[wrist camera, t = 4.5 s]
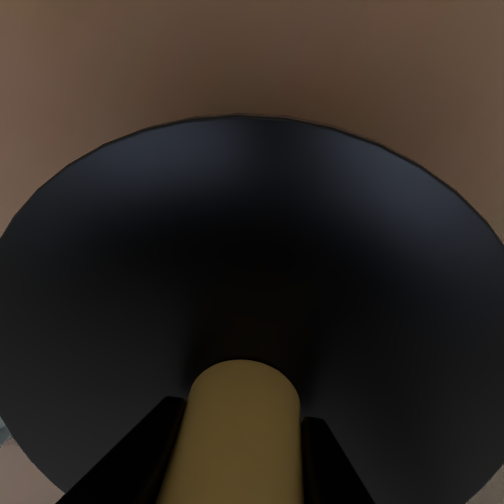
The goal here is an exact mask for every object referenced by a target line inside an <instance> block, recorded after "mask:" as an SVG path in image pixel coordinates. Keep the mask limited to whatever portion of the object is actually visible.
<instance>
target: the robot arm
mask: <svg viewBox="0 0 504 504" xmlns="http://www.w3.org/2000/svg"><path fill="white" fill-rule="evenodd" d="M185 407H186V400H185V399H184V398H180V397H173V396H166V397H165V398H164V399H162V400H161V401H160V402H159V403H158V404H157V405H156V406H155V407H154V408H153V409H152V410H151V411H150V412H149V413H148V414H147V415H146V416H145V417H144V418H143V419H142V420H141V421H140V422H139V423H138V424H137V425H136V426H135V427H134V428H133V429H132V430H131V431H130V432H129V433H128V434H126V435H125V436H124V437H123V438H122V439H121V440H120V441H119V442H118V443H117V444H116V445H115V446H114V447H113V448H112V449H111V450H110V451H109V452H108V453H107V454H106V455H105V456H104V457H103V458H102V459H101V460H100V461H99V462H98V463H97V464H96V465H95V466H94V467H93V468H91V469H90V470H89V471H88V472H87V473H86V474H85V475H84V476H83V477H82V478H81V479H80V480H79V481H78V482H77V483H76V484H75V485H74V486H73V487H72V488H71V489H70V490H69V491H68V492H67V493H66V494H65V495H64V496H63V497H62V498H61V499H60V500H59V501H58V502H56V503H55V504H155V503H156V500H157V497H158V493H159V490H160V487H161V484H162V481H163V478H164V474H165V471H166V468H167V465H168V462H169V459H170V455H171V452H172V449H173V446H174V442H175V439H176V436H177V433H178V429H179V426H180V423H181V420H182V416H183V413H184V410H185ZM301 435H302V456H303V477H304V498H305V504H375V502H374V500H373V499H372V497H371V495H370V494H369V492H368V490H367V489H366V487H365V486H364V484H363V482H362V481H361V479H360V477H359V476H358V474H357V472H356V471H355V469H354V467H353V466H352V464H351V463H350V461H349V459H348V458H347V456H346V454H345V453H344V451H343V449H342V448H341V446H340V444H339V443H338V441H337V440H336V438H335V436H334V435H333V433H332V431H331V430H330V428H329V426H328V425H327V423H326V422H325V420H323V419H322V418H316V417H309V416H306V417H304V418H303V420H302V424H301Z"/></svg>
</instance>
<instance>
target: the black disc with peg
mask: <svg viewBox="0 0 504 504" xmlns="http://www.w3.org/2000/svg"><path fill="white" fill-rule="evenodd" d="M166 396H173V397H180V398H184V399H185V400H186V407H185V410H184V413H183V416H182V420H181V423H180V426H179V429H178V433H177V436H176V439H175V442H174V446H173V449H172V452H171V455H170V459H169V462H168V465H167V468H166V471H165V474H164V478H163V481H162V484H161V487H160V490H159V493H158V497H157V500H156V503H155V504H305V498H304V477H303V456H302V435H301V424H302V420H303V418H304V417H306V416H309V417H316V418H322V419H323V420H325V422H326V423H327V425H328V426H329V428H330V430H331V431H332V433H333V435H334V436H335V438H336V440H337V441H338V443H339V444H340V446H341V448H342V449H343V451H344V453H345V454H346V456H347V458H348V459H349V461H350V463H351V464H352V466H353V467H354V469H355V471H356V472H357V474H358V476H359V477H360V479H361V481H362V482H363V484H364V486H365V487H366V489H367V490H368V492H369V494H370V495H371V497H372V499H373V500H374V502H375V504H465V503H466V502H467V501H469V500H470V499H471V498H472V497H473V496H474V495H475V494H477V493H478V492H479V491H480V490H481V489H482V488H483V487H484V486H485V485H486V484H487V482H488V481H489V480H490V479H491V478H492V477H493V476H494V474H495V473H496V472H497V471H498V470H499V469H500V468H501V466H502V465H503V463H504V244H503V243H502V242H501V240H500V239H499V237H498V236H497V235H496V233H495V232H494V230H493V229H492V228H491V226H490V225H489V224H488V222H487V221H486V220H485V219H484V218H483V217H482V216H481V215H480V214H479V213H478V212H477V211H476V210H475V209H474V208H473V207H472V206H471V205H470V204H469V203H468V202H467V201H466V200H465V199H464V198H463V197H462V196H461V195H460V194H459V193H458V192H457V191H456V190H454V189H453V188H451V187H450V186H449V185H447V184H446V183H445V182H443V181H442V180H440V179H439V178H438V177H436V176H435V175H434V174H432V173H431V172H430V171H428V170H427V169H425V168H424V167H423V166H421V165H420V164H418V163H416V162H415V161H413V160H411V159H409V158H407V157H405V156H403V155H402V154H400V153H398V152H396V151H394V150H392V149H390V148H388V147H386V146H384V145H382V144H381V143H379V142H377V141H375V140H372V139H369V138H367V137H364V136H361V135H358V134H355V133H352V132H350V131H347V130H344V129H341V128H338V127H335V126H333V125H329V124H324V123H319V122H314V121H309V120H304V119H299V118H294V117H289V116H281V115H264V114H248V113H233V114H220V115H207V116H195V117H190V118H186V119H181V120H177V121H172V122H168V123H163V124H159V125H154V126H150V127H147V128H144V129H142V130H139V131H136V132H134V133H131V134H129V135H126V136H123V137H121V138H118V139H116V140H113V141H110V142H108V143H105V144H103V145H101V146H99V147H98V148H96V149H94V150H92V151H91V152H89V153H87V154H86V155H84V156H82V157H80V158H79V159H77V160H75V161H73V162H72V163H70V164H68V165H67V166H66V167H64V168H63V169H62V170H61V171H59V172H58V173H57V174H56V175H54V176H53V177H52V178H51V179H49V180H48V181H47V182H46V183H45V184H43V185H42V186H41V187H40V188H38V189H37V190H36V192H35V193H34V194H33V195H32V196H31V197H30V198H29V200H28V201H27V202H26V203H25V204H24V205H23V206H22V207H21V209H20V210H19V211H18V212H17V213H16V214H15V215H14V217H13V218H12V220H11V222H10V223H9V225H8V227H7V228H6V230H5V232H4V233H3V235H2V236H1V238H0V417H1V419H2V420H3V422H4V424H5V425H6V427H7V429H8V430H9V432H10V434H11V435H12V437H13V439H14V440H15V441H16V443H17V444H18V445H19V447H20V448H21V449H22V450H23V452H24V453H25V454H26V456H27V457H28V458H29V459H30V461H31V462H32V463H33V464H34V465H35V466H36V467H37V468H38V469H39V470H40V471H41V472H42V473H43V474H44V475H45V476H46V477H47V478H48V479H49V480H50V481H51V482H52V483H53V484H54V485H55V486H57V487H58V488H59V489H60V490H61V491H63V492H64V493H65V494H66V493H67V492H68V491H69V490H70V489H71V488H72V487H73V486H74V485H75V484H76V483H77V482H78V481H79V480H80V479H81V478H82V477H83V476H84V475H85V474H86V473H87V472H88V471H89V470H90V469H91V468H93V467H94V466H95V465H96V464H97V463H98V462H99V461H100V460H101V459H102V458H103V457H104V456H105V455H106V454H107V453H108V452H109V451H110V450H111V449H112V448H113V447H114V446H115V445H116V444H117V443H118V442H119V441H120V440H121V439H122V438H123V437H124V436H125V435H126V434H128V433H129V432H130V431H131V430H132V429H133V428H134V427H135V426H136V425H137V424H138V423H139V422H140V421H141V420H142V419H143V418H144V417H145V416H146V415H147V414H148V413H149V412H150V411H151V410H152V409H153V408H154V407H155V406H156V405H157V404H158V403H159V402H160V401H161V400H162V399H164V398H165V397H166Z"/></svg>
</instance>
